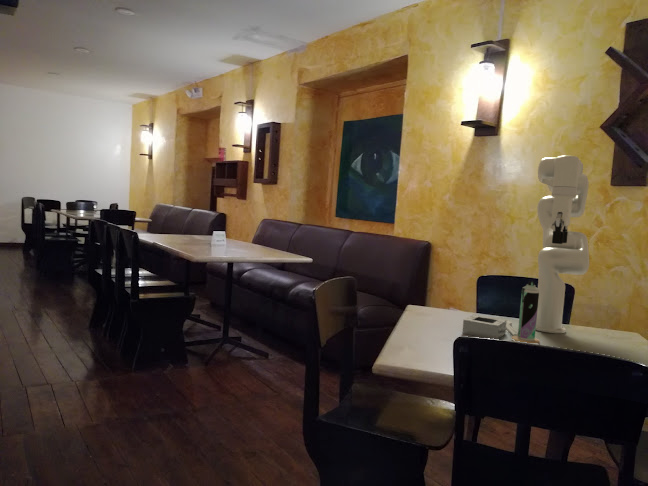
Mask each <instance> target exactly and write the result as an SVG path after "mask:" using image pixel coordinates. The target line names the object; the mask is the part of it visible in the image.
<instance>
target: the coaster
mask: <svg viewBox="0 0 648 486" xmlns="http://www.w3.org/2000/svg"><path fill="white" fill-rule="evenodd" d="M511 338H512V339H514V340H515V341H520V342H527V343H539V344H540V343H541V341H540V340H539V339H538V338H536V337H535V340H534V341H525V340H521V339H518V336H511Z"/></svg>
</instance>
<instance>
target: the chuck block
mask: <svg viewBox="0 0 648 486" xmlns="http://www.w3.org/2000/svg"><path fill="white" fill-rule="evenodd" d="M506 321H507V320H506V319H503V318H495V317H491V316H484V315H480V314H479V315H477V314H472V315H470V316H468V317H466V318H464V319H463V324H462V333H464V334H463V335H467V334H468V335H467V336H472V335H476V336H475V337H479V338H483V337H485V338H484V339H488V338H494V339H498V338H499V337H500V338H502V337H503V336H504V335H506V333H507V331H506ZM502 335H503V336H502ZM501 336H502V337H501ZM500 338H499V339H500ZM494 339H493V340H494ZM499 339H498V340H499Z"/></svg>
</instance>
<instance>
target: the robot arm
mask: <svg viewBox="0 0 648 486" xmlns="http://www.w3.org/2000/svg"><path fill="white" fill-rule="evenodd" d="M537 168H538V169H537V178H538V180H539V182H540V183H542V184H544V185H547V189H548V190H549V191H550V192H551V195H547V196H544V197H541V198H540V199H539V200H538V203H537V217H538V220H539V224H540V225H541V229H542V248H541V249H540V251H538V255H537V256H538V257H537V263H538V267H537V268H538V281H537V282H538V283H537V288H538V289H539V299H538V310H537V321H536V331H538V332H543V333H549V334H564V333H566V331H567V329H566V328H565V327H564V326H562V324H563V315H564V306H565V297H566V294H565V292H566V284H565V281H564V280H563V279H562V277H561V276H560V274H564V275H575V276H576V275H577V276H578V275H579V276H582V275H583V276H584V275H585V274H586V273H587V272H588V270H589V268H590V253H589V252H590V251H589V241H588V237H587V235H586V234H585V233H583V232H580V231H572V230H571V231H570V230H569V229H568V228H569V227H568V226H570V223H571V218H580V217H582V216H583V215H584V213H585V209H586V205H587V203H586V202H587V198H588V193H589V187H590V186H589V178H588V176H587V175H586V174H584V173H583V171H584V164H583V162H582V160H580V158H579V157H578V156H577V155H576V156H575V155H559V156H557V157H544V158H542V159H541V160H540V161H539V164H538V167H537Z"/></svg>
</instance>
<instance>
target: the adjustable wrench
mask: <svg viewBox="0 0 648 486" xmlns="http://www.w3.org/2000/svg"><path fill="white" fill-rule="evenodd" d="M512 323H513V322H512V321H510V320H507V321H506V330H507V331H508V332H509V333H510V334H511V335H512V336H518V330H516V329H514V328H513V327H512ZM507 331H506V332H507ZM508 332H507V333H508ZM509 333H508V334H509ZM510 334H509V335H510ZM511 335H510V336H511ZM512 336H511V337H512Z"/></svg>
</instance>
